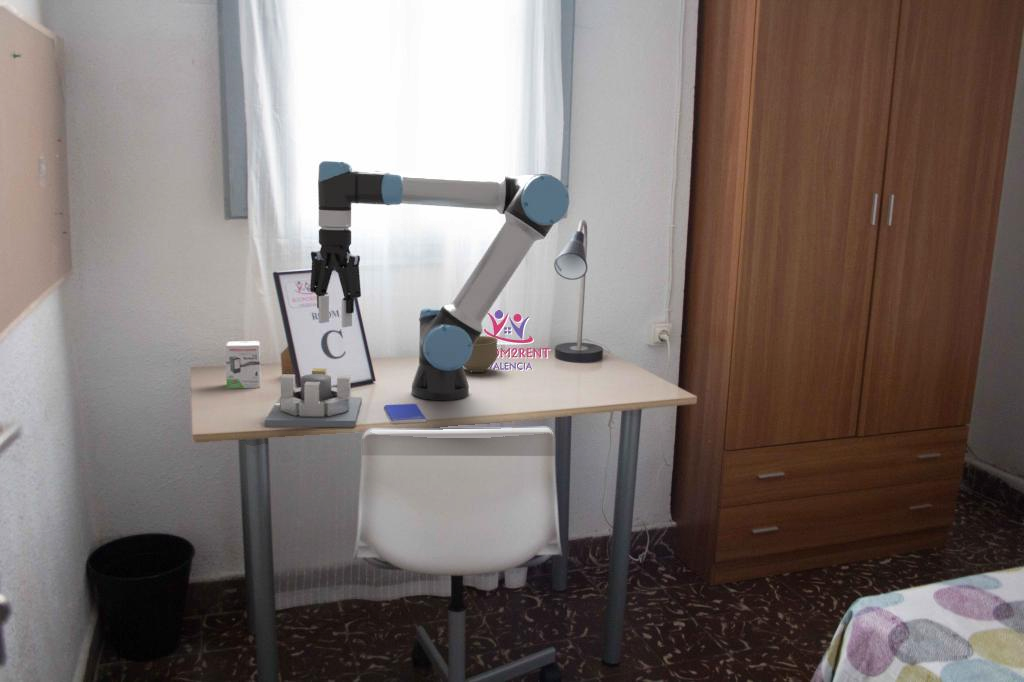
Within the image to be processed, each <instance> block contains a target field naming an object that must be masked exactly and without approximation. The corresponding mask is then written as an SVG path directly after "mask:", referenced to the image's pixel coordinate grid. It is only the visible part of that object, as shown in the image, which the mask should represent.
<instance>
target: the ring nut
mask: <svg viewBox="0 0 1024 682" xmlns="http://www.w3.org/2000/svg"><path fill="white" fill-rule="evenodd" d="M311 374H324V375H328V368H320V367H319V368H318V367H317V368H315V367H314V368H313V369H312V371H311ZM280 396H281V397H280ZM280 396H279V398H280V410H281V411H283V412H286V413H289V414H292V415H295V416H298V415H299V416H310V417H324V416H325V415H326V416H331V415H335V414H339V413H343V412H347V410H349V408H350V405H351V397H352V393H351V375H349V374H338V375H337V378H336V386H332V385H331V399H328V400H323V401H320V382H306V383H305V385H304V400H301V386H300V387H296V374H294V373H293V374H291V373H290V374H289V373H287V374H286V373H285V374H284V373H283V374H282V375H281V377H280Z"/></svg>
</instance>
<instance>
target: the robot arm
mask: <svg viewBox="0 0 1024 682" xmlns="http://www.w3.org/2000/svg"><path fill="white" fill-rule="evenodd" d="M317 183H318V184H317V186H318V187H317V188H318V189H317V192H318V195H317V196H318V226H319V227H320V228H319V230H318V243H319V245H321V246H320V248H319V249H320V250H317V251H315V250H314V251H311V253H310V257H311V272H310V284H309V285H310V286H309V287H310V288H309V291H310V292H311V293H314V294H315V295H316V307H317V309H318V324H325V323H330V296H329V292H328V288H329V284H330V281H331V277H332V275H333V271H334V270H335V272H336V273H337V275H338V279H339V282H340V287H341V289H342V294H343V298H342V299H341V328H348V327H353V314H354V312H355V309H354V308H355V300H356V299H357V298H361V296H362V292H361V291H362V290H361V289H362V288H361V279H360V266H359V265H360V260H361V256H360V255H354V254H352V253H351V251H350V245H352V230H351V229H350V228H351V227H352V204H364V205H366V204H367V205H385V206H392V205H396V206H397V205H401V204H404V205H405V204H406V205H418V206H419V205H420V206H421V205H422V206H435V207H437V206H439V207H451V208H464V209H465V208H466V209H481V210H482V209H483V210H496V211H497V212H498V213H499V215H504V217H505V222H504V224H503V225H502V227H501V228H500V230H499V231H498V233H497V234H496V236H495V237H494V239H493V241H492V242H491V243H490V244H489V246H488V248H487V250H486V251H485V252H484V254H483V256H482V257H481V259H480V260H479V262H478V263H477V265H476V266H475V268H474V269H473V271H472V272H471V273H470V275H469V277H468V279H466V282H465V283H464V285H463V286H462V288H461V289H460V291H459V293H457V295H456V297H455V298H454V300H453V301H452V303H451V302H450V303H449V304H448V303H447V304H443V305H442V307H441V308H439V307H438V308H437V307H432V308H431V307H429V308H428V307H426V308H422V309H421V310H420V313H419V319H418V322H419V343H418V345H419V347H418V350H419V351H418V366H417V369H416V372H415V374H414V378H413V381H412V383H411V394H412V395H413V396H415V397H417V398H419V399H425V400H428V401H429V400H430V401H452V400H453V401H455V400H461V399H463V398H467V396H468V395H469V390H470V389H469V388H470V387H469V386H470V385H469V383H468V378H467V376H466V372H465V369H464V368H465V367H464V366H463V365H465V364H466V363H467V361H468V360H469V358H470V356H471V354H472V350H473V345H474V344H475V342H476V341H477V339H478V338H479V336H482V335H481V334H482V333H483V325H482V322H483V320H484V319H485V317H486V316H487V315H488V312H490V310H491V308H492V307H493V306H494V304H495V302H496V300H497V299H498V297H499V296H500V294H501V293H502V292H503V290H504V289H505V288H506V286H507V284H508V282H509V281H510V279H511V278H512V276H514V274H515V272H516V270H517V269H518V267H519V266H520V264H521V263H522V262H523V260H524V258H525V257H526V255H528V252H529V251H530V249H531V248H532V247H533V245H534V244H535V242H536V241H539V240H540V241H541V240H544V239H545V238H546V237H547V235H548V234H549V232H550V230H551V229H552V227H553V226H554V224H557V223H559V221H561V220H562V219H563V218H564V216H566V213H567V211H568V209H569V205H570V197H569V192H568V189H567V187H566V186H565V184H564V183H563V182H562V181H561V180H560V179H558V178H557V177H555V176H553V175H552V174H548V173H537V174H536V173H535V174H534V173H533V174H528V175H527V174H526V175H518V176H517V175H516V176H510V175H509V176H508V175H507V176H505V175H502V176H500V178H499V179H495V178H493V179H491V178H480V177H479V178H477V177H465V176H464V177H463V176H451V175H450V176H449V175H448V176H447V175H433V174H417V173H406V172H405V173H403V172H392V171H380V170H375V171H358V170H353V168H352V163H350V162H348V161H329V160H328V161H327V160H325V161H321V162H320V163H319V166H318V180H317Z"/></svg>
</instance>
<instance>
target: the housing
mask: <svg viewBox="0 0 1024 682" xmlns="http://www.w3.org/2000/svg"><path fill="white" fill-rule="evenodd" d="M306 382H320V401H323V400H328V399H331V386H332V376H331V375H328V374H327V375H324V374H312V373H310V374H305V375H302V376H301V377H300V387H301V400H304V385H305V383H306ZM280 397H281V395H280V396H279V398H278V399H277V401H276V403H275V404H274V405H273V406H272V408H271V411H270V412H269V413H268V414H267V417H266V418H265V424H264V425H265V427H269V428H270V427H275V428H276V427H277V428H279V427H280V428H281V427H289V428H290V427H292V428H293V427H296V428H298V427H299V428H302V427H303V428H306V427H307V428H355V427H356V426H357V422H358V419H359V414H360V409H361V406H362V403H363V401H362V399H363V398H362V397H361V396H351V405H350V408H349V410H347V412H343V413H339V414H335V415H331V416H326V415H325V416H324V417H310V416H299V415H298V416H295V415H292V414H289V413H286V412H283V411H281V410H280Z"/></svg>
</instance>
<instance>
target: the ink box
mask: <svg viewBox="0 0 1024 682" xmlns="http://www.w3.org/2000/svg"><path fill="white" fill-rule="evenodd" d="M225 359H226V360H225V364H226V366H225V367H226V369H225V370H226V389H228V390H229V389H255V388H257V389H259V388H261V342H260V341H259V340H239V341H238V340H237V341H236V340H233V341H228V342H226V343H225Z"/></svg>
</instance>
